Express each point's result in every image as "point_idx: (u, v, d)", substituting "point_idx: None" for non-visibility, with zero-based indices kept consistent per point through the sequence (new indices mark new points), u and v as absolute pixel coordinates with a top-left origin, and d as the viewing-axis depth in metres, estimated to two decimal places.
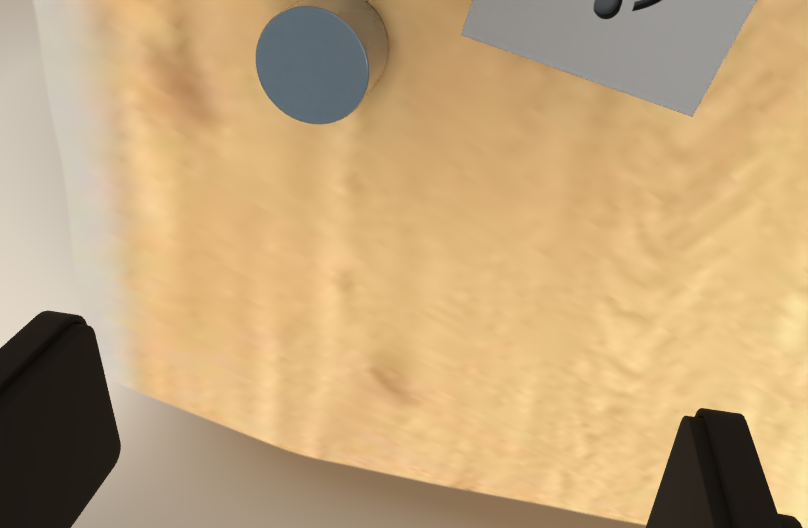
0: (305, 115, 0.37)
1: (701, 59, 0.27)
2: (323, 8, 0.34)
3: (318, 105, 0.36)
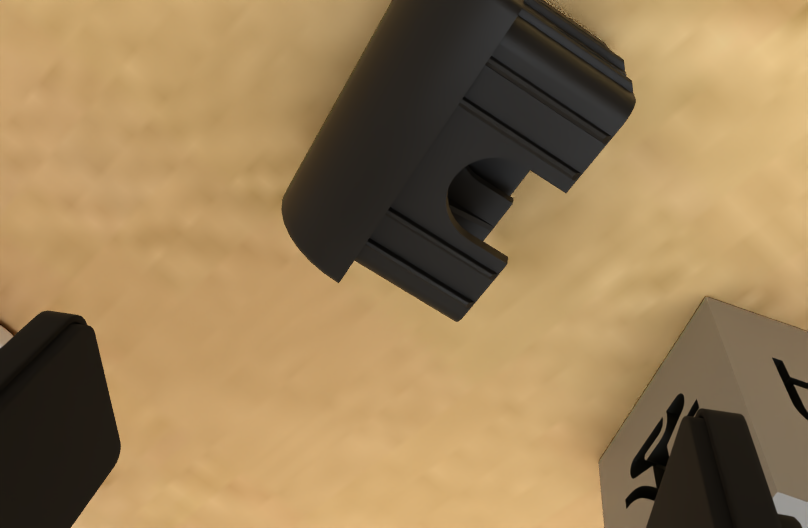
0: None
1: None
2: None
3: None
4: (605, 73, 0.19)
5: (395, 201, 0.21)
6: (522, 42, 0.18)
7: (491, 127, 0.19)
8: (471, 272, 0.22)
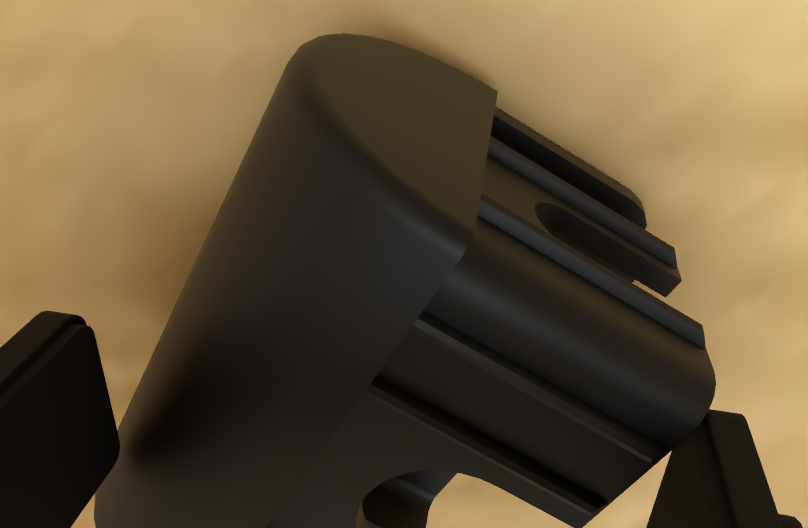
0: None
1: None
2: None
3: None
4: (650, 314, 0.10)
5: None
6: (480, 283, 0.09)
7: None
8: None
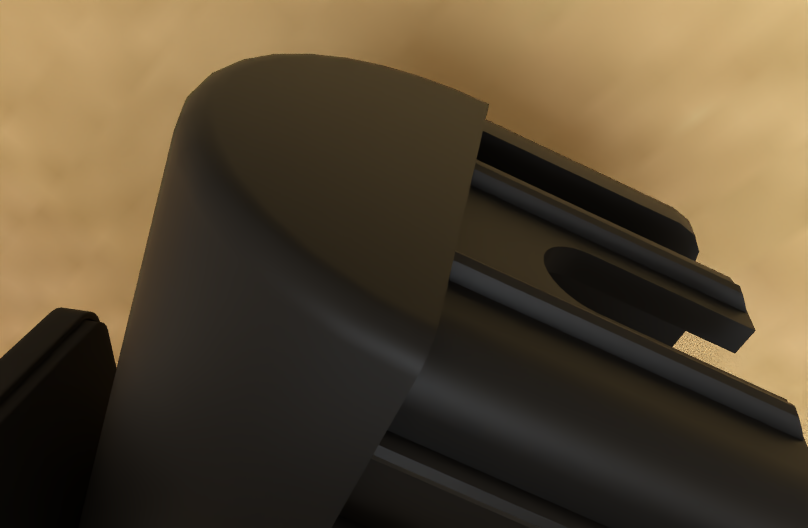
0: None
1: None
2: None
3: None
4: (718, 397, 0.07)
5: None
6: (464, 390, 0.06)
7: None
8: None
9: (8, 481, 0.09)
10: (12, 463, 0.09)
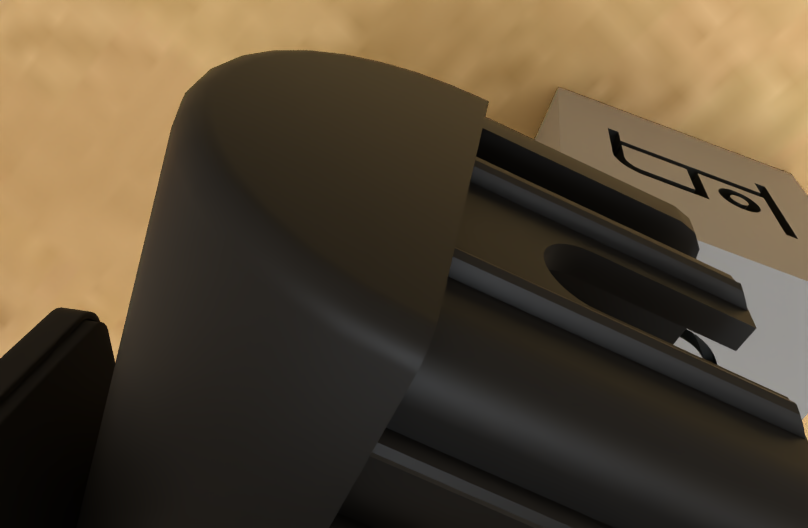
0: None
1: (806, 308, 0.20)
2: None
3: None
4: (718, 395, 0.07)
5: None
6: (463, 387, 0.06)
7: None
8: None
9: (8, 481, 0.09)
10: (12, 463, 0.09)
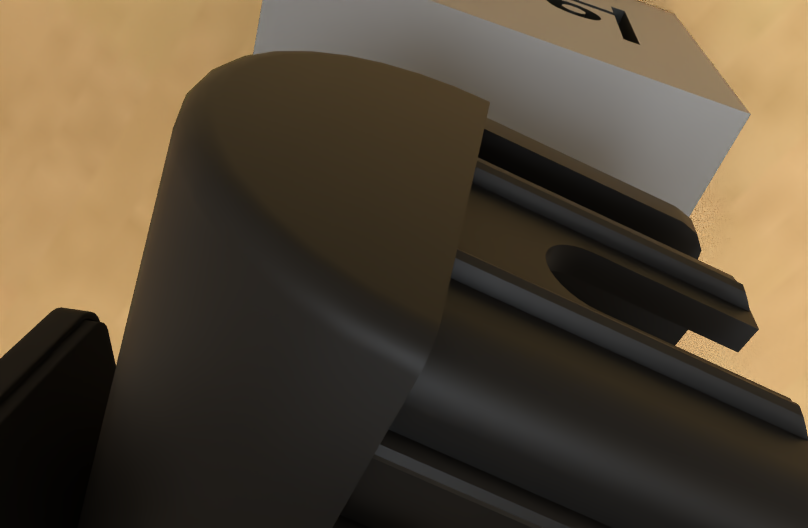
0: None
1: (628, 113, 0.14)
2: None
3: None
4: (722, 395, 0.07)
5: None
6: (465, 388, 0.06)
7: None
8: None
9: (8, 481, 0.09)
10: (12, 463, 0.09)
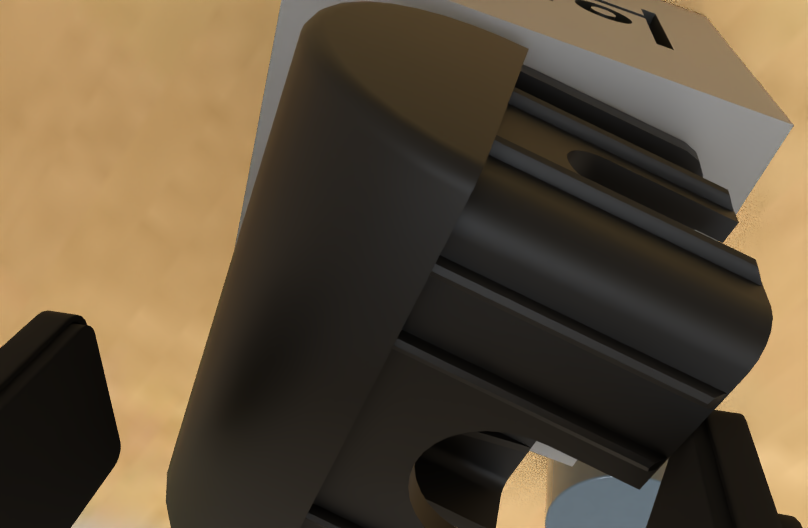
0: None
1: (662, 123, 0.13)
2: (550, 503, 0.27)
3: None
4: (695, 251, 0.09)
5: (321, 496, 0.12)
6: (501, 225, 0.08)
7: (467, 383, 0.10)
8: None
9: None
10: None
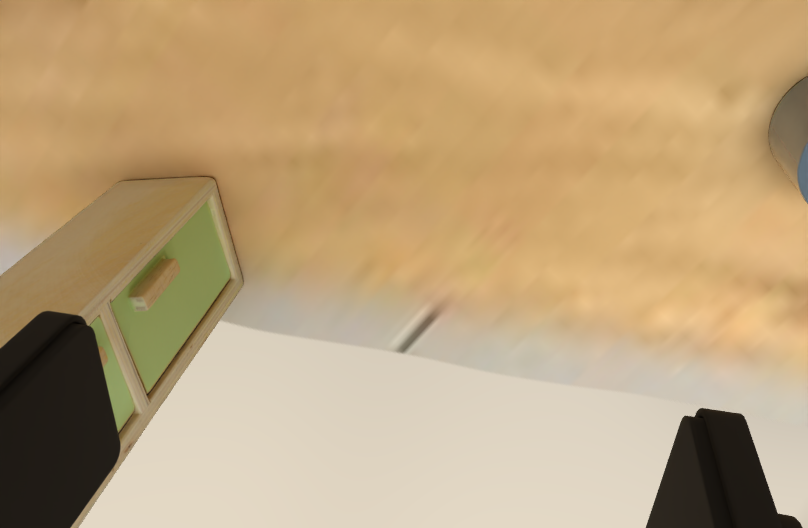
0: None
1: None
2: (806, 140, 0.30)
3: None
4: None
5: None
6: None
7: None
8: None
9: None
10: None
